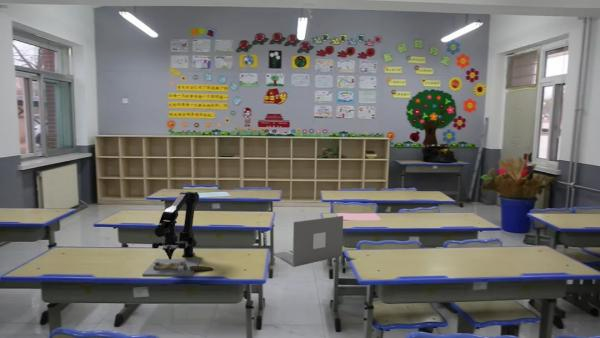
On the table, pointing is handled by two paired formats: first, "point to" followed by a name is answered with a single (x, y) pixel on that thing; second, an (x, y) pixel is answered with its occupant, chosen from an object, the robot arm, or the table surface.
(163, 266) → the link
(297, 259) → the laptop
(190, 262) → the pivot board
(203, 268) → the stone
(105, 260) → the table surface
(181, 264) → the keeper
